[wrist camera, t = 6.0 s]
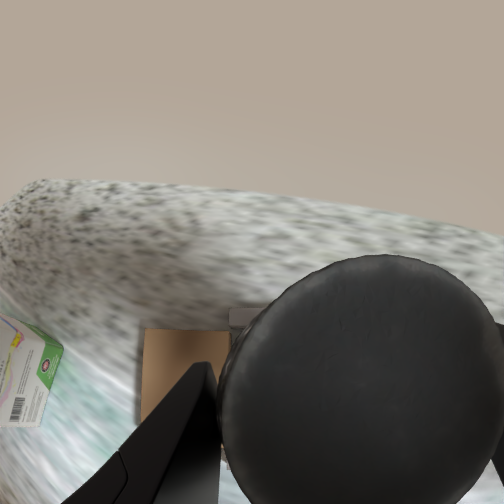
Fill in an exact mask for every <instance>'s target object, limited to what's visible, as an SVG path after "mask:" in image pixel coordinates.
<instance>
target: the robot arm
mask: <svg viewBox="0 0 504 504" xmlns="http://www.w3.org/2000/svg"><path fill="white" fill-rule="evenodd" d="M495 323H496V322H495ZM496 325H497V326H498V328H499V330H500V334H501V337H502V340H503V343H504V325H502V324H499V323H496ZM217 386H218V384H217V380H216V378H215V375H214V372H213V369H212V365H211V363H210V362H209V361H200V362H194V363H193V364H192V365H191V366H190V367H189V368H188V369H187V371H186V372H185V373H184V374H183V375H182V376H181V378H180V379H179V380H178V381H177V382H176V384H175V385H174V386H173V387H172V388H171V389H170V391H169V392H168V393H167V394H166V395H165V396H164V397H163V399H162V400H161V401H160V402H159V403H158V404H157V406H156V407H155V408H154V409H153V410H152V411H151V412H150V414H149V415H148V416H147V417H146V418H145V419H144V420H143V422H142V423H141V424H140V425H139V426H138V427H137V428H136V430H135V431H134V432H133V433H132V434H131V435H130V436H129V437H128V439H127V440H126V441H125V442H124V443H123V444H122V445H121V446H120V448H119V449H118V451H116V452H115V453H114V454H113V455H112V456H111V457H110V459H109V460H108V461H107V462H106V463H105V464H104V465H103V466H102V467H101V468H100V469H99V470H98V471H97V472H96V473H95V474H94V475H93V476H92V477H91V478H90V479H89V480H88V481H87V482H85V483H84V484H83V485H82V486H81V487H80V488H79V489H78V490H76V491H75V492H74V493H73V494H72V495H70V496H69V497H68V498H67V499H66V500H64V501H63V502H62V503H61V504H218V494H219V478H220V462H221V446H222V442H221V438H220V435H219V431H218V429H217V422H216V415H215V412H216V397H217ZM491 460H492V462H493V464H494V466H495V469H496V471H497V473H498V475H499V477H500V480H501V482H502V484H503V487H504V428H503V433H502V436H501V438H500V440H499V442H498V445H497V448H496V450H495V453H494V455H493V456H492V458H491Z"/></svg>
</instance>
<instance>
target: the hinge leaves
mask: <svg viewBox="0 0 504 504" xmlns="http://www.w3.org/2000/svg"><path fill="white" fill-rule="evenodd" d="M264 309H265V308H229V326H230V327H231V328H234V329H244V328H245V327H246V326H247V325H249V323H250V322H251V320H252V319H253V318H255V317H256V316H257V315H258V314H259V313H260V312H261V311H262V310H264ZM230 350H231V333H230V332H229V331H195V330H169V329H151V328H145V338H144V352H143V368H142V389H141V423H142V422H143V420H144V419H145V418H146V417H147V416H148V415H149V414H150V412H151V411H152V410H153V409H154V408H155V407H156V406H157V404H158V403H159V402H160V401H161V400H162V399H163V397H164V396H165V395H166V394H167V393H168V392H169V391H170V389H171V388H172V387H173V386H174V385H175V384H176V382H177V381H178V380H179V379H180V378H181V376H182V375H183V374H184V373H185V372H186V371H187V369H188V368H189V367H190V366H191V365H192V364H193V363H194V362H200V361H209V362H210V363H211V365H212V369H213V372H214V375H215V378H216V380H217V384H218V381H219V376H220V374H221V370H222V367H223V365H224V363H225V360H226V358H227V355H228V353H229V352H230ZM221 448H224V447H223V445H222V446H221ZM227 470H231V469H230V467H229V464H228V461H227Z"/></svg>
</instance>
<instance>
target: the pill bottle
mask: <svg viewBox="0 0 504 504" xmlns="http://www.w3.org/2000/svg"><path fill="white" fill-rule="evenodd" d="M215 415H216V422H217V429H218V431H219V435H220V438H221V442H222V445H223V447H224V450H225V454H226V458H227V461H228V464H229V467H230V469H231V472H232V474H233V476H234V478H235V480H236V481H237V483H238V485H239V487H240V489H241V490H242V492H243V493H244V494H245V496H246V497H247V498H248V500H249V501H250V502H251V504H456V503H457V502H458V501H460V499H461V498H462V497H463V496H464V495H465V494H466V493H467V492H468V491H469V490H470V489H471V488H472V487H473V486H474V484H475V483H476V482H477V480H478V479H479V477H480V476H481V474H482V473H483V471H484V469H485V467H486V466H487V464H488V463H489V461H490V459H491V458H492V456H493V455H494V453H495V450H496V448H497V445H498V442H499V440H500V438H501V436H502V433H503V428H504V343H503V340H502V337H501V334H500V330H499V328H498V326H497V325H496V323H495V321H494V319H493V317H492V315H491V314H490V313H489V311H488V309H487V307H486V306H485V305H484V303H483V302H482V301H481V299H480V298H479V297H478V296H477V295H476V294H475V293H474V292H473V291H471V290H470V288H469V287H468V286H466V285H465V284H464V283H463V282H462V281H460V280H459V279H457V278H456V277H455V276H454V275H452V274H450V273H449V272H448V271H446V270H444V269H442V268H440V267H439V266H437V265H434V264H428V263H426V262H424V261H421V260H420V259H415V258H409V257H404V256H399V255H389V254H382V255H365V256H361V257H357V258H348V259H345V260H341V261H337V262H334V263H332V264H330V265H328V266H326V267H324V268H322V269H320V270H318V271H315V272H312V273H310V274H309V275H307V276H306V277H304V278H303V279H301V280H299V281H298V282H296V283H294V284H293V285H291V286H290V287H288V288H287V289H286V290H285V291H284V292H283V293H282V294H281V295H280V296H279V297H278V298H277V299H275V300H274V301H273V302H272V303H271V304H269V306H268V307H267V308H265V309H264V310H262V311H261V312H260V313H259V314H258V315H257V316H256V317H255V318H253V319H252V320H251V322H250V323H249V325H247V326H246V327H245V328H244V329H243V330H242V332H241V333H240V335H239V336H238V337H237V338H236V340H235V342H234V343H233V345H232V348H231V350H230V352H229V353H228V355H227V358H226V360H225V363H224V365H223V367H222V370H221V374H220V376H219V381H218V386H217V397H216V412H215Z"/></svg>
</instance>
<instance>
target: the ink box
mask: <svg viewBox="0 0 504 504" xmlns="http://www.w3.org/2000/svg"><path fill="white" fill-rule="evenodd" d="M62 353H63V346H61V345H60V344H59V343H57V342H56V341H54V340H53V339H52V338H50V337H49V336H47V335H46V334H45V333H43V332H42V331H40V330H39V329H38V328H36V327H35V326H32V325H29V324H26V323H24V322H21V321H19V320H16V319H14V318H11V317H9V316H7V315H4V314H2V313H0V427H39V425H40V422H41V418H42V414H43V411H44V407H45V404H46V401H47V397H48V394H49V391H50V388H51V384H52V381H53V378H54V375H55V372H56V370H57V367H58V364H59V361H60V358H61V356H62Z"/></svg>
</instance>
